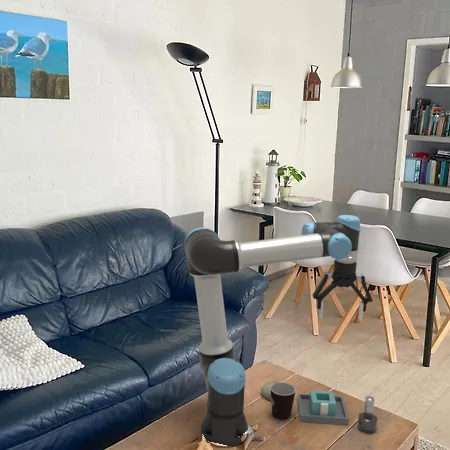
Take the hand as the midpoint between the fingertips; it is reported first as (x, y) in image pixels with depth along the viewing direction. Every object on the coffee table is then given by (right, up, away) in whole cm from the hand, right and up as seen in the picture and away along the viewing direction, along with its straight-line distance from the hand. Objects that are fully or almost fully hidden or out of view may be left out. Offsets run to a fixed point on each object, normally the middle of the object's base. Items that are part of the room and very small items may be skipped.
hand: (340, 318), depth 185 cm
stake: (+7, -35, -9) cm, 37 cm away
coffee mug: (-21, -32, -1) cm, 38 cm away
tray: (-7, -32, 0) cm, 33 cm away
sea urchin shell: (-23, -30, +9) cm, 39 cm away
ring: (-7, -32, -1) cm, 32 cm away
